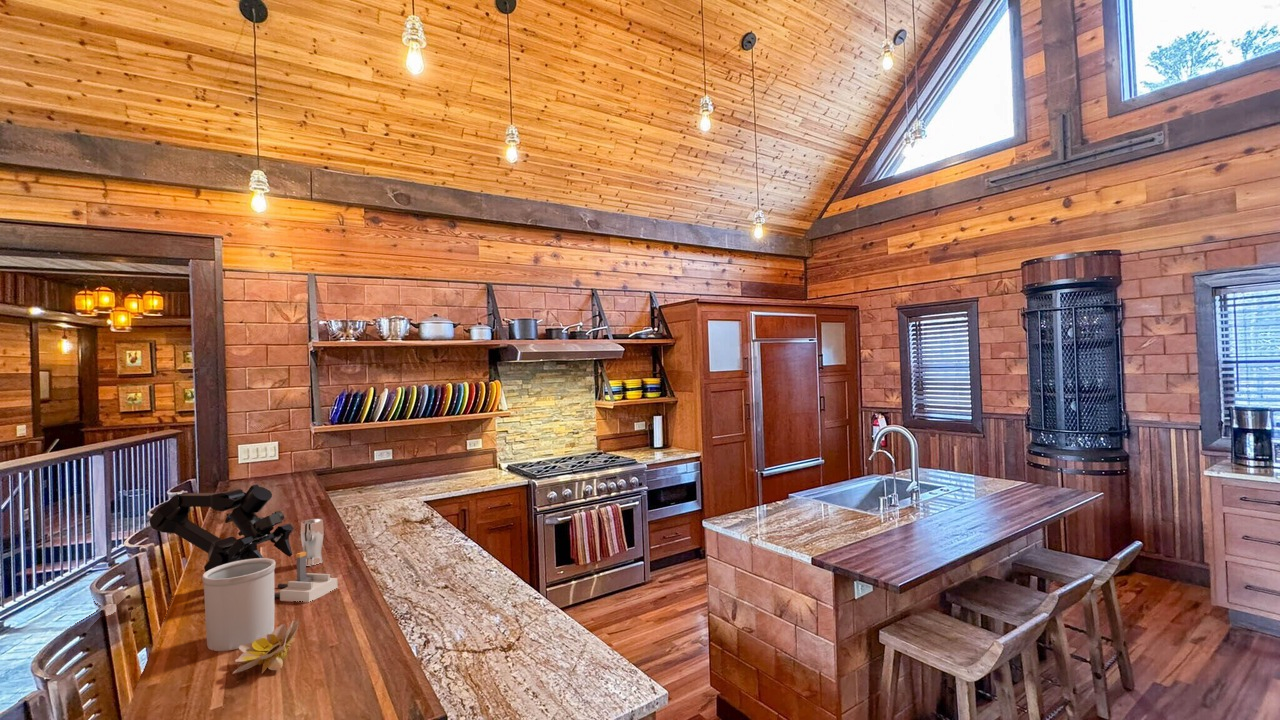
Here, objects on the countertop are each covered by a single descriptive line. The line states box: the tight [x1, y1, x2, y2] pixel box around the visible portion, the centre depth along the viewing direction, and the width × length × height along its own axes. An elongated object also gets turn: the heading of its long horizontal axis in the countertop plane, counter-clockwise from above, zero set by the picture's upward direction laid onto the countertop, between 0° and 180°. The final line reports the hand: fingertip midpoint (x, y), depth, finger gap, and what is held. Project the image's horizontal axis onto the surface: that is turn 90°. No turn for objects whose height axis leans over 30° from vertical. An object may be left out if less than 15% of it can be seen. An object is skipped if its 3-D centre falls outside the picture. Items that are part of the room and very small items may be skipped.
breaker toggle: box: [295, 551, 312, 582], centre depth 166 cm, size 3×5×9 cm, turn 168°
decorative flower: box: [232, 618, 300, 675], centre depth 125 cm, size 15×11×10 cm
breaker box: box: [274, 572, 338, 603], centre depth 166 cm, size 19×11×5 cm, turn 78°
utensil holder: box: [201, 557, 277, 652], centre depth 138 cm, size 15×15×18 cm
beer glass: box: [300, 518, 325, 567], centre depth 194 cm, size 7×7×15 cm
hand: (278, 560), depth 168 cm, fingers open, 9 cm apart
